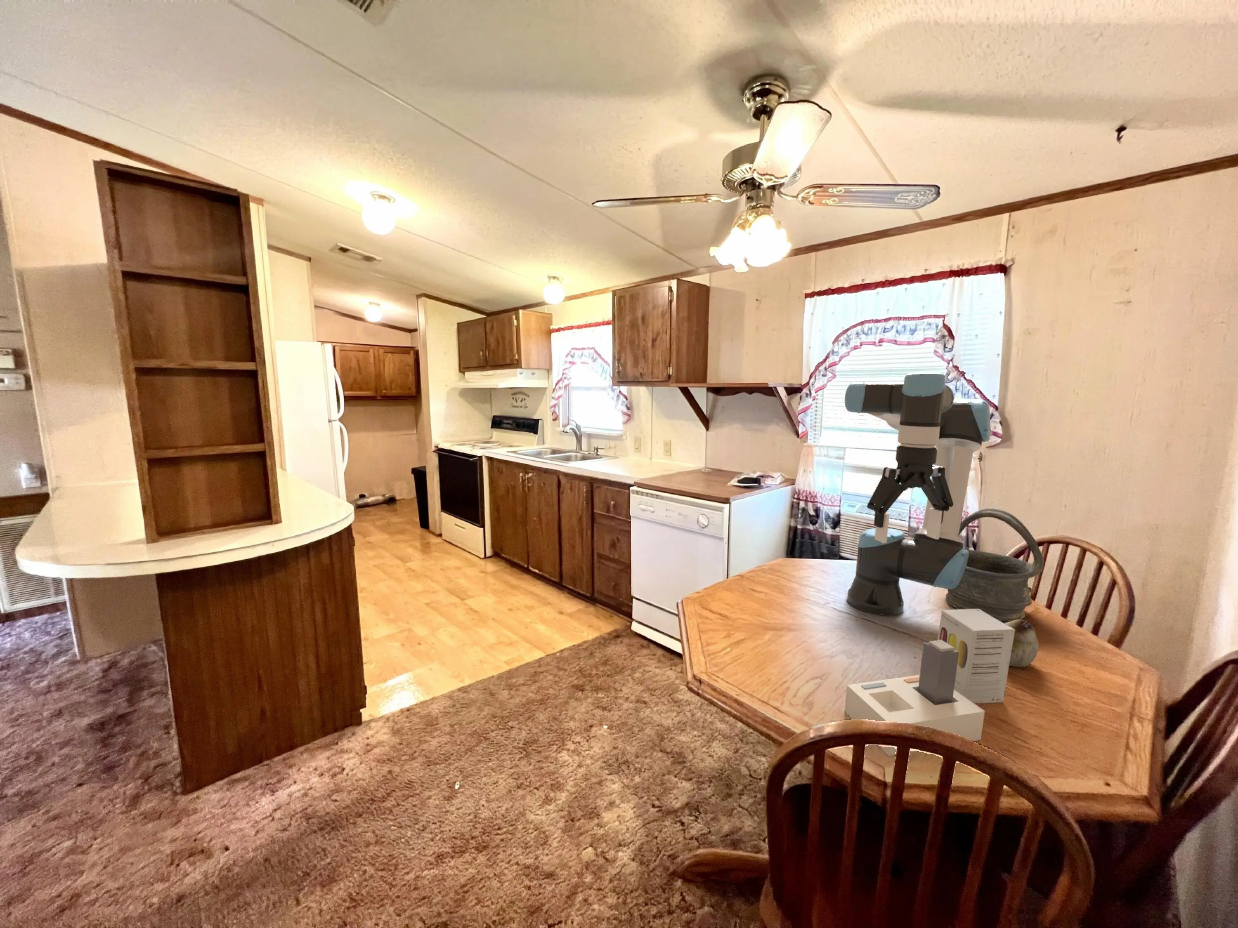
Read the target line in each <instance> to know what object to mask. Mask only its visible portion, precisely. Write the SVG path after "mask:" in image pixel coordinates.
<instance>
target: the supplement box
mask: <svg viewBox="0 0 1238 928" xmlns="http://www.w3.org/2000/svg"><path fill="white" fill-rule="evenodd" d="M940 613H941V614H940V621H939V628H938V633H937V634H938V635H937V640H942V641H944V642H946V643H947V644H949V645H951V646H952V647H954V649H955V650H957V651H959V656H958V663H957V671H956V678H955V686H954V690H955V691H957V692H958V693H960V694H961V695H962V696H964V697H965V698H967V699H968V700H970V701H971V702H972V703H974V704H975V705H976V704H991V703H994V704H996V703H1004V699H1005V692H1006V685H1007V680H1008V674H1009V668H1010V665H1009V663H1010V657H1011V650H1012V645H1013V639H1014V633H1015V629H1013V628H1011V627H1009V626H1008V625H1006V624H1004V622H1003V621H999V620H997V619H995V618H993V617H992V616H990V615H988V614H987V613H985V612H983V611H982V610H980V609H957V608H955V609H942V610H941V612H940Z"/></svg>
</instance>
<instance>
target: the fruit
mask: <svg viewBox="0 0 1238 928" xmlns="http://www.w3.org/2000/svg"><path fill="white" fill-rule="evenodd" d="M1003 623H1004V622H1003ZM1004 624H1006V625H1008V626H1009V627H1011V628H1013V629H1015V633H1014V639H1013V645H1012V650H1011V657H1010V663H1009V667H1010V666H1012V667H1015V668H1023V667H1027V666H1029V665H1031V664H1032V663H1033V661H1034V660H1035V659H1036V657H1037V656H1038V654H1037V653H1038V652H1039V650H1040V649H1039V648H1040V646H1039V645H1040V644H1039V641H1038V637H1037V634H1036V630H1035V628H1034V625H1032V623H1030V621H1029V620H1024V619H1021V620H1014V621H1007V622H1005V623H1004Z"/></svg>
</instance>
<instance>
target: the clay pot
mask: <svg viewBox="0 0 1238 928" xmlns="http://www.w3.org/2000/svg"><path fill="white" fill-rule="evenodd" d="M983 518H991V519H997V520H999V521H1001V522H1004V523H1005V524H1007V525H1008V526H1009V527H1011V528H1012V529H1013V530H1014V531H1015V532H1016V533H1018V534H1019V535H1020V536H1021V537H1022V538H1023V540H1024V541H1025V543H1026V545H1027V546H1028V548H1029V549H1030V552H1031V554H1032V556H1033V561H1032V562H1028V561H1025V560H1021V559H1019V558H1015V557H1012V556H1008V555H1003V554H999V553H993V552H988V551H982V550H975V549H966V550H967V551H968V552H969V557H968V560H967V565H966V568H965V571H964V573H963V576H962V578H961V580H960V582H959V584H958V586H957V587H956V588H954V589H947V593H946V594H945V601H946V602H947V603H948V604H950V605H951V606H952V607H954V608H955V609H980V610H982V611H983V612H985V613H987V614H988V615H990V616H992V617H993V618H995V619H997V620H999V621H1000V622H1003V621H1004V622H1011V621H1014V620H1024V619H1023V618H1025V616H1026V613H1025V609H1026V608H1027V607H1029V606H1031V605H1032V604H1033V600H1032V598H1031V596H1030V595H1031V593H1032V592H1033V589H1032V588H1031V587H1030V586H1029V579H1031V578H1034V577H1036V576H1038V575H1040V574H1041V573H1042V572H1043V571H1044V566H1045V563H1044V557H1043V554H1042V552H1041V549H1040V547H1039V545H1038V543H1037V541H1036V539H1035V538H1034V536H1033V535H1032V534H1031V532H1030V531H1029V529H1028V528H1027V526H1025V525H1024V523H1023V522H1022V521H1021V520H1019V519H1018V518H1017V517H1016V516H1015V515H1013V514H1012V513H1010V512H1008V511H1006V510H1003V509H1000V508H983V509H980V510H978V511H975V512H973V513H971V514H970V515H968V516H966V517H965V518H964V519H963V520H961V523H960V529H959V534H958V536H959V537H960V535H961V534H962V532H963V531H964V530H965V528H967V527H968V526H969V525H970V524H971V523H973V522H975V521H976V520H979V519H983Z"/></svg>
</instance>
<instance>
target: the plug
mask: <svg viewBox="0 0 1238 928" xmlns="http://www.w3.org/2000/svg"><path fill="white" fill-rule="evenodd" d="M922 645H923V647H922V654H921V665H920V671H919V675H920V678H919V687H918V693H920V694H921V695H922V696H924V697H925V698H926V699H927V700H929V701H930V702H931V703H933V704H934V705H940V704H946V703H952V701H953V693H954V686H955V678H956V671H957V663H958V656H959V651H957V650H955V649H954V647H952V646H951V645H949V644H947V643H946V642H944V641H942V640H938V639H937V640H929V641H928V642H923V644H922Z"/></svg>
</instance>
